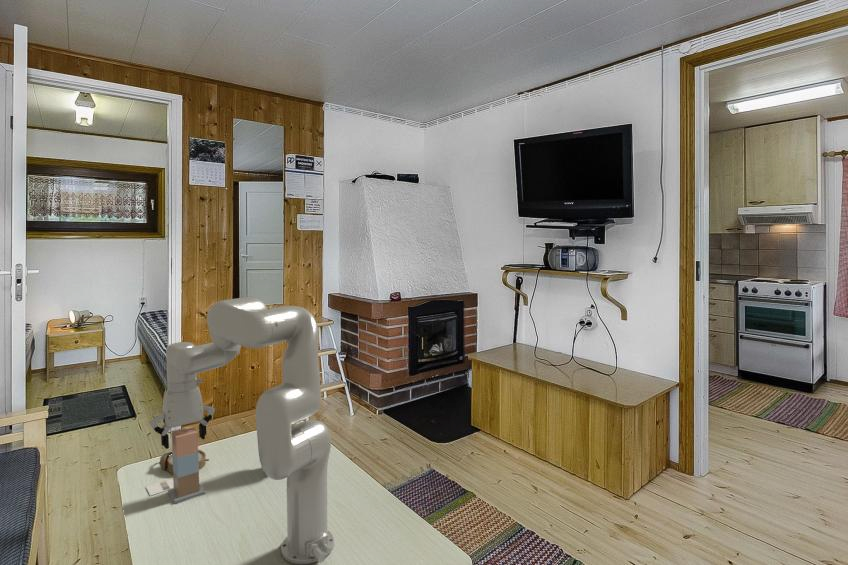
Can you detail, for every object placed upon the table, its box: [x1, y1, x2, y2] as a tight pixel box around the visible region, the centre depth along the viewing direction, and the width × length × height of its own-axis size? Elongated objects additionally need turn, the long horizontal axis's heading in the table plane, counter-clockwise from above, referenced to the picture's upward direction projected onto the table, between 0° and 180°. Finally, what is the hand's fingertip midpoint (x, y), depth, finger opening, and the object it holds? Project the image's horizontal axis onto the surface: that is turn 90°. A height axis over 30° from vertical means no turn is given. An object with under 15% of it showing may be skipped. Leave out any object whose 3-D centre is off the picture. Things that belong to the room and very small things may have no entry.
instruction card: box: [145, 478, 174, 497], centre depth 141 cm, size 6×9×1 cm, turn 131°
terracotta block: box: [171, 426, 199, 458], centre depth 136 cm, size 6×6×6 cm
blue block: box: [171, 450, 200, 478], centre depth 136 cm, size 6×6×6 cm
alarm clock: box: [158, 449, 210, 475], centre depth 153 cm, size 11×5×15 cm
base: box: [167, 471, 206, 505], centre depth 137 cm, size 8×8×7 cm
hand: (184, 442), depth 136 cm, fingers open, 9 cm apart
